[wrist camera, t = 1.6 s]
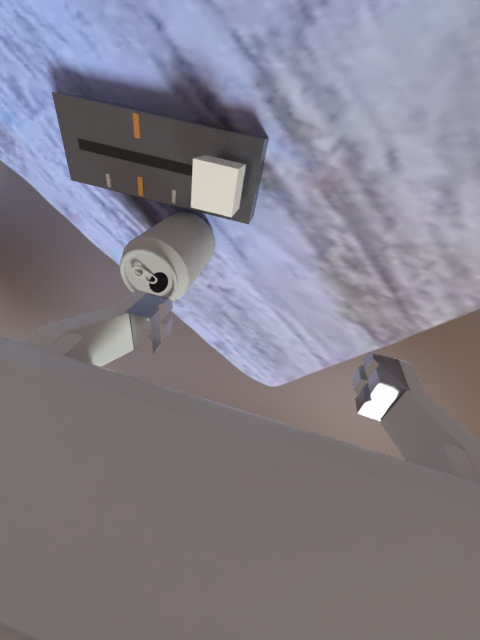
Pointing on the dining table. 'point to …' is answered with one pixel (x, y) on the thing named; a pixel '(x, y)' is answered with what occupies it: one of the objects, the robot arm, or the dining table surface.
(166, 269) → the can
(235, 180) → the fader knob
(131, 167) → the fader panel
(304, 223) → the dining table surface
